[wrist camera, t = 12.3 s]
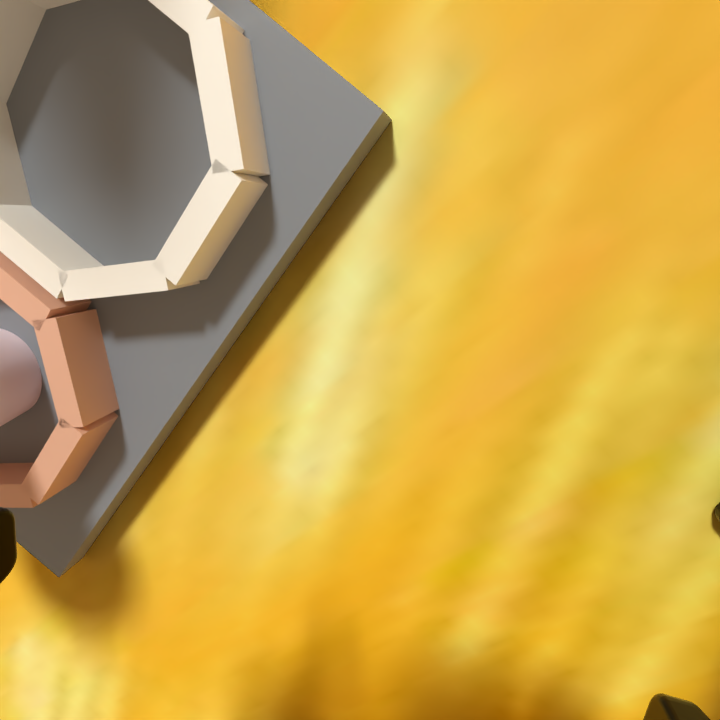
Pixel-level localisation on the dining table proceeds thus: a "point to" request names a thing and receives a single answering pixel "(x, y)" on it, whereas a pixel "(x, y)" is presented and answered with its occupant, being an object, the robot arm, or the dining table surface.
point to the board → (146, 225)
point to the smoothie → (17, 377)
